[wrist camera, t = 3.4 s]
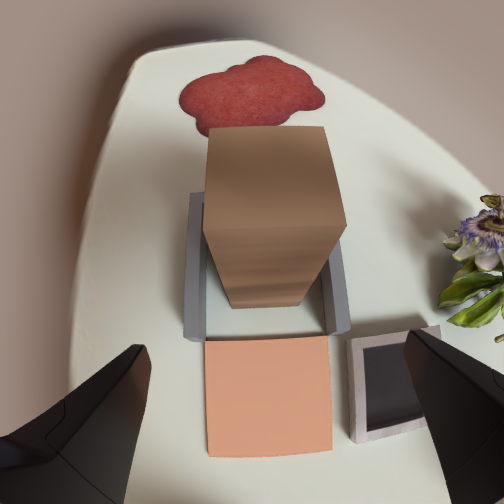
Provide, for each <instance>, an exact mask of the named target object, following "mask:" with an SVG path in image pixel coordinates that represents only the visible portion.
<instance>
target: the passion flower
mask: <svg viewBox="0 0 504 504" xmlns="http://www.w3.org/2000/svg"><path fill="white" fill-rule="evenodd" d="M480 200H481V201H482V202H484V203H485V204H486V206H488V207H489V208H493V209H491V210H489V211H487V210H485V209H482V210H481V211H480V212H479V215H478V216H476V217H473V218H471V217H470V218H468V219H466V221H462V222H461V223H462V225H461V228H460V229H459V230H458V231H456V230H454V232H458V233H455V237H452V238H448V239H446V240H444V241H443V244H444V246H445V247H446V248H447V249H449V250H453V251H456V252H455V253H454V254H452V257H453V258H454V259H455V260H456V261H457V262H459V263H461V264H463V265H464V266H463V267H462V268H461V269H459V270H458V271H457V272H456V273H455V275H454V277H453V278H452V282H453V284H452V285H450V286H449V287H447V288H445V290H443V291H442V293H441V294H440V304H439V305H438V306H439V308H441V307H444V306H456V305H460V304H462V303H464V302H465V301H467V300H469V299H470V298H473V297H475V296H476V295H477V294H478V293H479V292H480V291H484V290H489V291H491V292H490V293H489V294H488V295H486V296H485V297H484V298H482V299H480V300H479V301H478V302H476V303H475V304H473V305H472V306H471V307H469V308H465V309H463V310H461V311H460V312H459V313H457V314H456V315H454V316H453V317H451V318H449V319H448V320H447V322H450V323H453V324H455V325H456V326H462V327H469V328H475V327H476V328H479V327H481V326H483V325H486V324H488V323H490V322H491V321H492V320H493V319H494V317H495V316H496V315H497V313H498V311H499V310H500V309H501V308H502V309H501V311H502V317H503V319H504V196H501V195H499V196H498V195H497V194H495V193H494V194H492V195H484V196H481V197H480ZM492 204H493V205H492ZM482 271H486V272H490V271H498V272H502V276H492V274H488V273H482ZM503 340H504V334H502V335H500V336H498V337H496V338H495V342H496V343H499V342H501V341H503Z"/></svg>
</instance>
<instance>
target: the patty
mask: <svg viewBox="0 0 504 504" xmlns="http://www.w3.org/2000/svg"><path fill="white" fill-rule="evenodd" d="M179 103H180V106H181V108H182V109H183V111H184V112H186V113H187V114H189V115H190V116H193V117H195V118H196V119H197V129H198V131H199V132H200V133H201V134H202V135H204V136H206V137H208V138H209V129H211V128H225V127H246V126H277V125H280V124H282V123H284V122H286V121H287V120H288V119H289V117H290V115H292V114H293V113H295V112H297V111H300V110H301V111H310V110H316V109H318V108H320V107H322V106H323V104H324V103H325V96H324V94H323V92H322V91H321V90H320V89H319V88H317V87H316V86H315V85H314V84H313V81H312V79H311V77H310V76H309V75H308V74H307V73H306V72H305V71H304V70H302V69H300V68H298V67H296V66H294V65H290V64H287V63H285V62H283V61H282V60H280V59H279V58H277V57H273V56H267V55H262V56H256V57H253V58H252V59H250V60H249V61H247V63H246V64H243V65H234V66H232V67H230V68H229V69H228V70H227V71H226V72H220V73H213V74H209V75H205V76H202V77H200V78H198V79H196V80H194V81H192V82H191V83H189V84H188V85H187V86H186V87H185V88H184V90H183V91H182V93H181V95H180V99H179Z"/></svg>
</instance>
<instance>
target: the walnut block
mask: <svg viewBox="0 0 504 504" xmlns="http://www.w3.org/2000/svg"><path fill="white" fill-rule="evenodd" d="M346 226H347V223H346V218H345V213H344V208H343V204H342V199H341V194H340V190H339V185H338V181H337V177H336V173H335V169H334V164H333V160H332V157H331V153H330V149H329V145H328V141H327V138H326V134H325V130H324V127H318V126H246V127H225V128H211V129H209V141H208V153H207V167H206V181H205V198H204V217H203V232H204V235H205V237H206V240H207V243H208V246H209V249H210V251H211V254H212V257H213V259H214V262H215V265H216V268H217V270H218V273H219V276H220V278H221V281H222V284H223V286H224V289H225V291H226V294H227V297H228V299H229V302H230V304H231V307H232V309H243V308H269V307H290V306H299V304H300V302H301V301H302V299H303V298H304V296H305V295H306V293H307V291H308V290H309V288H310V287H311V285H312V283H313V282H314V280H315V279H316V277H317V275H318V274H319V272H320V270H321V269H322V267H323V265H324V264H325V262H326V261H327V259H328V257H329V255H330V254H331V252H332V250H333V249H334V247H335V245H336V244H337V242H338V240H339V238H340V237H341V235H342V233H343V232H344V230H345V228H346Z"/></svg>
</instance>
